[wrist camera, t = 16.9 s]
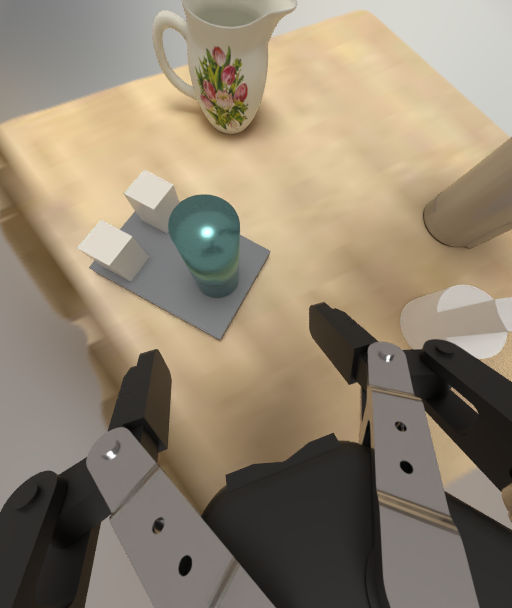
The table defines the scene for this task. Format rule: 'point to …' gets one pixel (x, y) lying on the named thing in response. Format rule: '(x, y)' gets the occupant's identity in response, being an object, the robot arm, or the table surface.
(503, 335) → the base with upright slab
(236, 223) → the teal glass cylinder
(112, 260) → the cream cube
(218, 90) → the pitcher
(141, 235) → the slate board
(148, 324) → the table surface
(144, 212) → the cream cube
